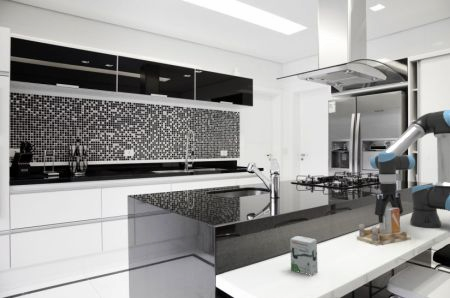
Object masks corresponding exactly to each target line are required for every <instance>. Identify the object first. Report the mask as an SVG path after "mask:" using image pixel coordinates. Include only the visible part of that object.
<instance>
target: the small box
mask: <svg viewBox="0 0 450 298" xmlns="http://www.w3.org/2000/svg"><path fill="white" fill-rule="evenodd" d="M383 216H385V230H383V229H380V234H381V235H385V234H392V233H398V232H401V214H400V213H399V208H395V207H392V206H386V209H385V212H384V215H383ZM379 227H380V223H379Z"/></svg>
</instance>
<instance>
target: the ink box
mask: <svg viewBox="0 0 450 298" xmlns="http://www.w3.org/2000/svg"><path fill="white" fill-rule="evenodd" d="M289 240H290V248H289V249H290V270H291V271H292V270H295V271H294V272H296V271H299V272H303V273H307V274H310V275H311V276H313V275H315V274H317V273H319V272H318V271H319V270H318V242H317V241H318V240H317V239H315V238H311V237H306V236H299V235H296V236H293V237H291V238H290V239H289ZM299 272H298V273H299ZM316 272H317V273H316ZM303 273H302V274H303ZM314 273H315V274H314ZM312 274H313V275H312ZM310 275H309V276H310Z"/></svg>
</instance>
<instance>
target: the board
mask: <svg viewBox="0 0 450 298" xmlns="http://www.w3.org/2000/svg"><path fill="white" fill-rule="evenodd" d="M407 233H408V232H407V231H400V232H398V233H392V234H385V235H381V234H380V227H377V226H372V227H371V228H369V229H365V224H364V223H363V224H362V223H359V224H358V236H357V235H356V240H357V241H361V242H365V243H367V244H371V245H374V246H381V245H386V244H393V243H398V242H399V243H400V242H405V241H411V240H412V237H411V236H410V235H408V234H407Z"/></svg>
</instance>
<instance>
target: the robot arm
mask: <svg viewBox="0 0 450 298" xmlns="http://www.w3.org/2000/svg"><path fill="white" fill-rule="evenodd" d="M428 134H433V136H434V137H435V138H436V144H437V145H436V148H437V149H436V152H437V153H436V154H437V156H436V157H437V182H435V183H434V184H429V185H428V184H427V185H415V186H412V188H411V196H412V197H411V198H412V201H411V202H412V213H411V217H410V220H409V222H410V226H413V225H414V226H413V227H419V228H421V227H422V228H427V229H428V228H429V229H436V228H441V227H442V221H441V219H440V216H439V213H438V211H437V210H442V211H443V210H444V211H448V212H450V109H446V110H440V111H433V112H428V113H425V114H423V115H421V116H419V117H418V118H417V119H415V120H414V121H413V122H412V123H410V124H409V125H408V127H407V129H406V130H405V131H404V132H403V133H402V134H401V135H400V136H399V137H398V138H397V139H395V140H394V141H393V142H392V143H391V144H390V145H389V146H388V147H387V148H386V149H385V150H383V152H382V151H380V152H378V155H375V156H372V157H371V158H370V161H369V164H370V167H371V168H372V169H374V170H378V177H379V186H378V187H379V190H380V194H376V195H375V199H376V200H375V207H374V208H375V209H374V215H375V216H378V222H379V223H380V226H379V228H380V229H383V230H385V216H383V215H384V212H385V209H386V207H388V204H389V203H390V205H391V207H395V208H399V213H400V215H402V214H403V213H404V208H403V204H402V200H401V193H400V192H396V191H397V190H398V189H397V171H408V170H412V169H414V168H415V166H416V159H415V158H414V157H413V156H411V155H410V154H409V155H407V154H404V152H406V151H407V150H408V149H410V147H411V146H412V145H413V144H414V143H415V142H416V141H418V140H419V139H422V138H423V137H425V136H426V135H428Z"/></svg>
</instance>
